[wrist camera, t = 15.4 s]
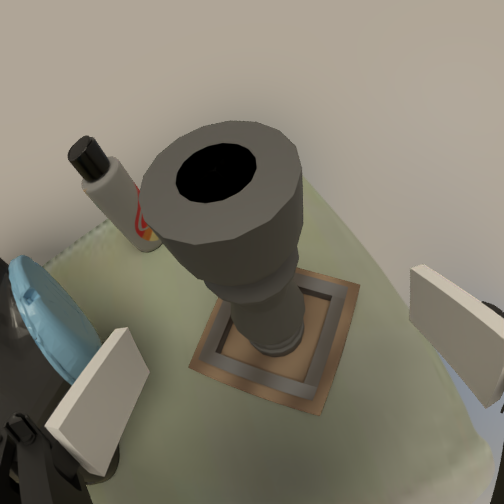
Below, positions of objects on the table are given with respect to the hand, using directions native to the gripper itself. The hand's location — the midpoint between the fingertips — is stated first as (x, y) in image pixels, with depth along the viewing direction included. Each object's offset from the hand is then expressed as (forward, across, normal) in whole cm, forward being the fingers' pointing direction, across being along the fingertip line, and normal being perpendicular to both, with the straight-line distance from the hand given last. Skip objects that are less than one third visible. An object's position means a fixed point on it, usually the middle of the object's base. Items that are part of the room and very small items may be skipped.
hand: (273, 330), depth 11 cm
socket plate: (+18, -1, -11) cm, 21 cm away
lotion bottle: (+30, -17, +1) cm, 35 cm away
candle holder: (+17, -1, -11) cm, 20 cm away
